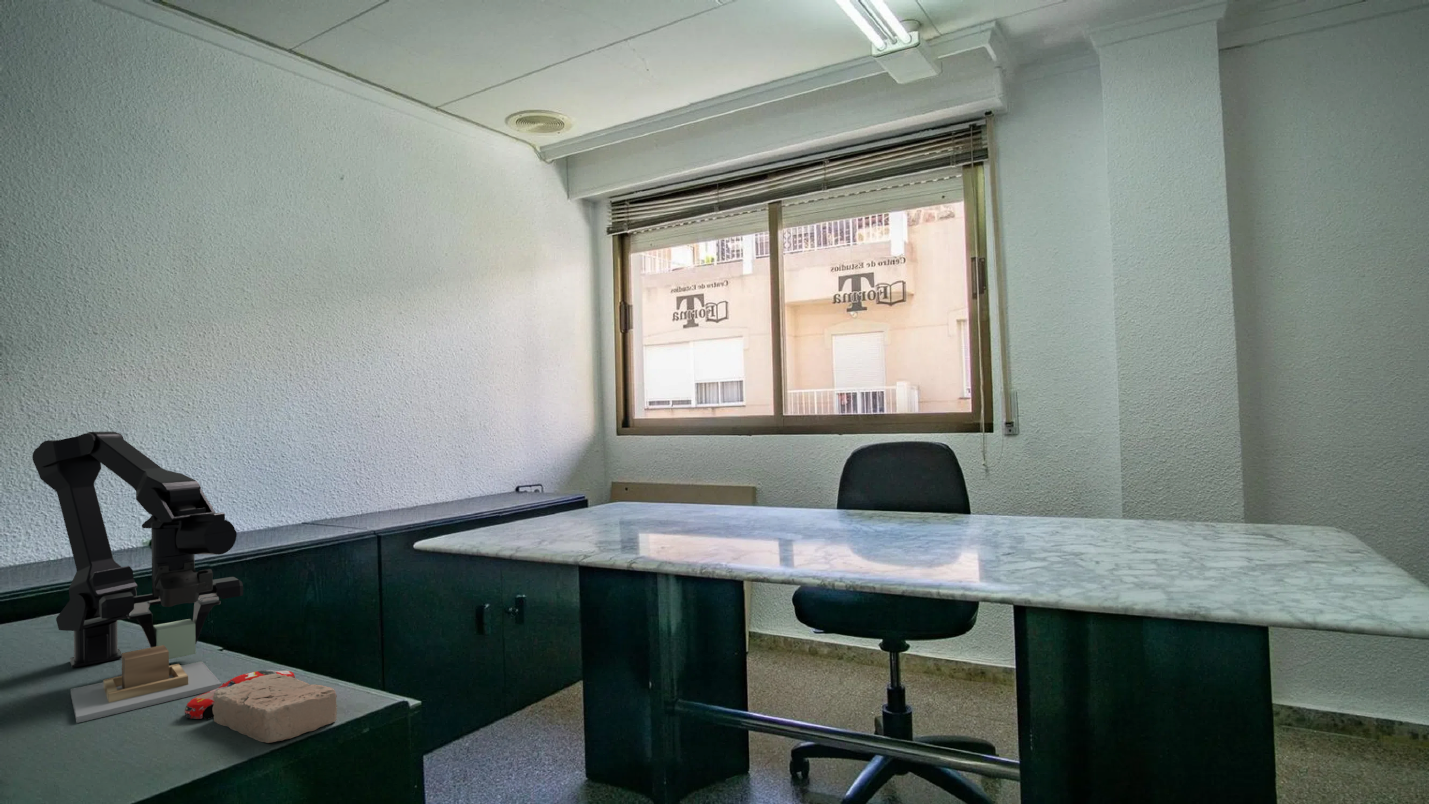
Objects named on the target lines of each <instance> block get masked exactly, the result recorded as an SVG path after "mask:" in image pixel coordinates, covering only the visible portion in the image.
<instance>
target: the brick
mask: <svg viewBox="0 0 1429 804" xmlns="http://www.w3.org/2000/svg"><path fill="white" fill-rule="evenodd" d="M295 678H296V677H295ZM295 678H293V677H290V676H288V677H287V676H286V675H281V674H269V675H264V676H260V677H257V678H253V679H251V680H246V681H244V682H241V683H239V684H234V685H232V686H229V687H227V688H224V689H220V690H217V691H215V692H214V696H213V700H214V701H215V702H214V705H213V709H212V710H213V714H214V718H213V722H214V723H216V724H218V725H221V726H223V727H228V728H230V730H232V731H235V732H238V733H239V734H242V735H243V736H244V735H245V736H247V737H249V738H251V739H253V740H256V741H257V742H262V743H266V744H271V743H277V742H280V741H281V742H282V741H284V740H289V739H293V738H295V737H299V736H301V735H302V734H305V733H308V732H313V731H317V730H318V729H319V728H322V727H324V726H327V725H330V724H333V723H334V722H336V721H337V718H338V715H337V714H338V713H337V711H338V710H337V709H338V705H337V699H338V697H337V692H336V690H335V689H334V688H333V687H329V686H325V685H319V684H314V683H313V684H309V682H305V681H303V680H299V679H298V678H296V679H295Z"/></svg>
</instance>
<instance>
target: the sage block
mask: <svg viewBox="0 0 1429 804" xmlns="http://www.w3.org/2000/svg"><path fill="white" fill-rule="evenodd" d="M153 627H154V633H155V639H156V646H161V645H164V646H165V647H166V648H167V650H168V651H169V660H174V659H177V658H182V657H187V656H193V655H196V653H197V651H196V650H197V646H196V645H197V643H196V636H195V623H194V622H193V619H191V618H188V619H182V620H181V619H180V620H176V621H171V622H164V623H158V624H153Z"/></svg>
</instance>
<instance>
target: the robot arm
mask: <svg viewBox="0 0 1429 804" xmlns="http://www.w3.org/2000/svg"><path fill="white" fill-rule="evenodd" d="M32 462H33V464H34V467H35V469H36V471H37V473H38V475H39V478H40V480H41V481H43V482H44V483H45V484H46V485H48V487H50V488H51V489H52V490H54V491H55V492H56V494H57V499H58V503H59V506H60V510H61V513H62V518H63V521H64V525H65V529H66V534H67V537H68V541H69V542H68V543H69V545H70V549H71V553H72V556H73V560H74V565H75V569H76V572H75V575H74V577H73V579H72V581H71V583H70V585H69V587H68V595H69V601H68V602H67V603H66V604H65V606H64V607H63V608H62V610H61V612H60V613H58V615H57V616H56V618H55V621H56V624H57V627H58V628H57V629H58V631H66V632H68V631H69V632H72V631H73V656H72V657H70V658H69V662H70V666H71V668H79V667H84V666H89V665H92V664H93V665H95V664H99V663H105V662H110V661H114V660H119V659H122V652H121V650H120V648H119V647H118V638H119V637H118V621H121V620H125V619H128V620H136V621H137V622H138V623H139V624H138V625H139V626H140V627H141V629H142V631H143V633H144V636H145V638H146V639H147V643H148V644H149V646H150V647H149V648H151V647H156V639H155V633H154V627H153V625H154V621H153V613H152V611H151V610H150V606H154V605H160V606H162V607H164V608H170V607H174V606H176V605H182V604H193V603H194V605H193V615H192V621H193V622H194V623H195V636H196V644H197V643H198V640H199V637H200V635H201V632H202V629H203V627H204V624H205V621H206V619H207V618H208V615H209V613H210V612H211V611H212V609H213V608H214V607H215V606H217V605H218V606H219V605H221V602H222V601H221V600H225V599H232V598H238V597H241V596H244V585H243V581H241V580H240V579H239V578H236V577H235V576H229V577H223V578H222V577H221V578H216V579H214V578H213V577H214V574H213V570H212V569H211V568H209V569H201V570H197V571H196V568H195V567H196V566H195V564H196V562H195V557H196V556H195V555H202V556H203V555H207V556H208V555H209V556H211V555H215V556H217V555H224V554H225V553H226V554H227V553H228V552H229V551H231V550H232V548H233V547H234V545H235V544H236V541H237V530H236V529H235V526H234V524H232V522H230V521H229V520H227V519H226V518H225V517H226V514H225V512H216V511H215V509H214V507H213V505H212V504H211V503H210V500H209V499H208V498H207V496H206V495H205V493H204V491H203V490H202V487H201V485H200V483H199V482H198V481H197V480H195V479H194V478H192V477H190V476H187V475H185V474H183V473H179V472H176V471H173V470H167V469H165V468H163V467H161V466H160V465H159V464H157V463H156V462H154V461H153V460H152V459H150V458H149V457H148V456H147V455H145V454H144V453H142V452H141V451H140V450H139V449H137V448H136V447H134V446H133V445H132V444H131V443H129V442H127V441H126V440H125V439H124V436H123V435H122V434H121V433H120V432H116V431H89V432H87V433H82V434H80V435H77V436H73V437H68V438H64V439H52V440H50V439H47V440H44V441H42V442H41V443H40V444H39V445H38V447H36V448H35V449H34V451H32ZM102 465H103V466H105V467H106V468H107V469H108V470H110V471H111V472H112V473H114V475H116V476H118V477H119V478H120V479H122V481H124V482H125V483H127V484H128V485H129V486H131V487H132V488H133V490H134V491H135V499H136V501H137V503H139V505H140V506H141V507H142V508H143V509H144V511H145V512H146V513H148V514H149V515H150V517H149V518H148V519H146V520H145V521H144V522H143V523H142V524H141V528H142V529H151V531H150V532H151V593H149V594H142V595H137V594H138V591H137V588H138V587H139V586H138V584H137V583H136V581H135V578H134V571H133V569H132V566H131V565H130V566H129V565H125V566H122V565H120V564H119V563H118V562H116V561H115V559H114V556H113V555H114V554H113V552H112V548H111V545H110V541H109V537H108V534H107V530H106V526H105V522H104V518H103V513H102V510H101V506H100V502H99V498H98V495H97V491H96V488H95V483H96V480H97V478H98V476H99V473H101V470H102ZM220 599H221V600H220Z"/></svg>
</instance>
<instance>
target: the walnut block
mask: <svg viewBox="0 0 1429 804" xmlns="http://www.w3.org/2000/svg"><path fill="white" fill-rule="evenodd" d="M121 654H122V658H121V676H122V688H123V689H125V688H130V687H134V686H139V685H143V684H148V683H152V682H157V681H161V680H166V679H169V666H170V659H169V651H168V650H167V648H166V647H165V646H164V645H161V646H156V647H146V648H141V649H136V650H132V651H124V652H121Z"/></svg>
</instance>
